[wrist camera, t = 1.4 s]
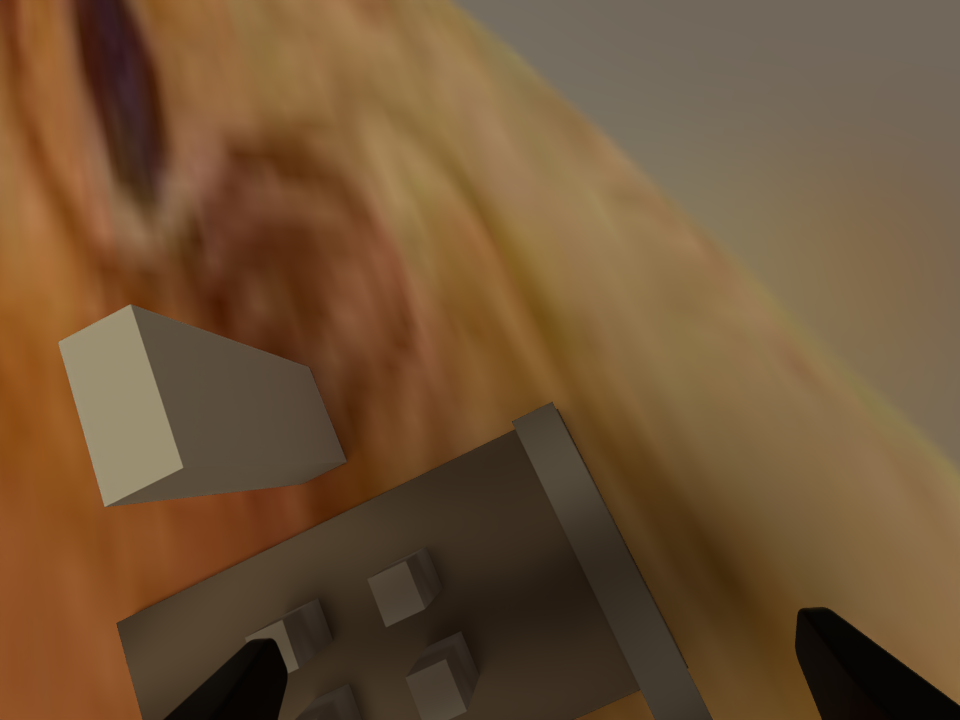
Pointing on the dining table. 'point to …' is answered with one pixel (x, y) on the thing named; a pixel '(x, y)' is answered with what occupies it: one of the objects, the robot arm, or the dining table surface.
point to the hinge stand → (437, 602)
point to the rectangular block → (192, 411)
